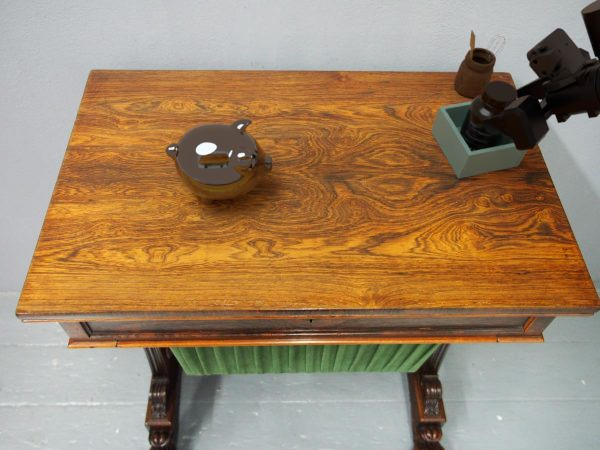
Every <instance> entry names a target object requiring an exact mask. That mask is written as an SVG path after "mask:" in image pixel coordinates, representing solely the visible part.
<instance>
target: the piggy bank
mask: <svg viewBox="0 0 600 450" xmlns="http://www.w3.org/2000/svg"><path fill="white" fill-rule="evenodd" d="M252 123H253V120H252V119H250V118H245V117H244V118H238V119H235V120H234V121H232V123H223V122H207V123H202V124H198V125H195V126H193V127H191V128H189V129H188V130H187V131H185V132H184V133H183V134H182V135H181V136H180V137H179V139H178V141H177V142H171V143H170V144H168V145H167V146H166V147H165V150H164V152H165V154H166V156H167V157H169V158H170V159H171V160H172V161H173V164H174V168H175V171H176V174H177V176H178V178H179V180H180V181H181V183H182V184H183V186H184V187H185V188H186V189H187V190H188V191H189V192H191V193H192V194H194V195H196V196H197V197H200V201H201V203H202V204H203V205H204V206H207V205H211V204H212V203H214V200H215V201H219V200H229V199H230V200H231V201H232V202H233V203H236V204H240V203H242V202H243V200H244V197H245V195H246V194H247V193H249V192H251V191H252V190H253V189H254V188H255V187H256V186H258V185H259V184H260V183H261V182H262V181H263V179H264V178H265V177H266V176H268V175H269V174H270V173H272V171H273V167H274V166H273V165H274V161H273V157H272V156H271V155H269V154H268V153H267V152H266V151H264V149H263V147H262V146H261V144H260V143H259V141H258V140H257V139H256V138H255V137H254V135H252V133H250V132H248V131H247V128H248V127H249V126H250V125H251V124H252Z"/></svg>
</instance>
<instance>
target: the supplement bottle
mask: <svg viewBox="0 0 600 450" xmlns="http://www.w3.org/2000/svg"><path fill="white" fill-rule="evenodd" d="M516 89H517V88H516V87H515V86H514V85H513V84H511V83H509V82H508V81H504V80H491V81H490V82H489V83H488V84H487V85H486V86H485V88H484V90H483V92H482V94H480V95H478V96H477V97H474V98H473V99H472V100H471V101H472V102H471V104H470V107H469V109H468V112H467V114H466V117H465V119H464V121H463V124H462V126H461V129H460V131H459V133H460V134H461V136H462V137H463V139H464V141H465V142H466V144H467V145H468V147H469V149H470V150H471V152H472V151H476V150H482V149H487V148H492V147H497V146H500V144H501V142H502V141H503V139H504V137H505V135H502V134H500V133H497V132H495V131H492V130H490V129H487V128H485V127H483V125H482V123H481V121H482V120H483V119H485V118H487V117H490V116H493V115H495V114H498V113H501V112H503V111H504V109H505V107H506V106H507V105H508V104H509V103H510V102H512V101H513V100H514V99H515V98H516V99H518V98H517V91H516Z"/></svg>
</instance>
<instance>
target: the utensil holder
mask: <svg viewBox="0 0 600 450" xmlns="http://www.w3.org/2000/svg"><path fill="white" fill-rule="evenodd" d="M470 32H471V33H470V38H469V47H470V49H469V50H468V51H467V53H466V54H465V56H464V59H463V60H462V61H461V62H460V65H459V67H458V70H457V73H456V75H455V78H454V80H453V87H454V89H455V91H456V92H457V93H458V94H459V95H461V96H463V97H466V98H470V99H471V98H473V99H474V98H475V97H477V96H478V95H480V94H482V92H483V90H484V88H485V86H486V85H487V84H488V83H489V82H491V80H492V77H493V75H494V67H495V66H496V61H497V56H498V55H499V54H500V53H501V51H502V50H503V48H504V46H505V45H506V38H505V36H503V35H501V34H497V35H496V37H495V36H494V37H492V39H494V40H490V41H489V43H488V45H489V46H492V43H493V42H494V41H495V40H496V39H497V37H498V38H499V37H500V38H499V39H498V40H497V42H496V44H495V45H496V46H494V47H493V49H492V50H490V49H491V48H489V46H487V47H486V48H484V47H476V34H475V32H474V29H471V31H470ZM503 39H504V40H503ZM501 40H502V41H501ZM500 41H501V45H500V46H499V48H498V50H497V51H496V54H494V53H493V52H494V50H495V49H496V48H497V46H498V45H499V43H498V42H500Z"/></svg>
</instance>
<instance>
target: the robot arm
mask: <svg viewBox="0 0 600 450" xmlns="http://www.w3.org/2000/svg"><path fill="white" fill-rule="evenodd" d="M580 14H581V18H582V21H583V24H584V27H585V30H586V34H587V36H588V40H589V44H590V46H591V49H592V52H593V56H594V57H593V58H591V55H590V52H589V51H588V50H586V49H584V48H582V47H578V45H577V44H576V43H575V42H574V40H573V39H572V38H571V37H570V36H569V35H568V33H567V32H566V31H565V30H564V29H563V28H561V27H557V28H556V29H554V30H553V31H551V32H550V33H549V34H548V35H546V36H545V37H543V39H541V40H540V41H539V42H538V43H536V44H535V45H534V46H533V47H532V48H530V49H529V50H528V51H527V52H526V59H527V61H528V62H529V63H528V67H530V69H531V70H532V71H533V73H535V75H536V76H537V78H535V79H534V80H532V81H530V82H527V83H526V84H524V85H521V87H519V88H515V89H516V91H517V98H515V99H514V100H513V101H512V102H510V103H509V104H508V105H507V106H506V107H505V109H504V111H503V112H501V113H498V114H495V115H493V116H490V117H487V118H485V119H483V120H482V121H481V123H482V125H483V127H485V128H487V129H490V130H492V131H495V132H497V133H500V134H502V135H505V136H507V137H509V138H511V139H513V142H514V144H515V147H516V149H517V150H520V151H522V150H528V151H531V150H534V149H535V148H536V147H537V146H538V145H539V144H540V143H541V141H542V140H543V139H545V138H546V136H547V134H548V133H549V131H550V127H549V124H548V120H550V118H551V117H552V116H555V119H556V121H557V122H556V123H557V124H561V123H566V122H567V121H568V120H569V119H570V118H571V117H572V116H577V115H583V114H587V117H588V119H594V118H597V117H599V115H600V0H595V1H592V2H591V3H589V4H588V5H586V6H585V7H584V8H582V9H581V11H580Z"/></svg>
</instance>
